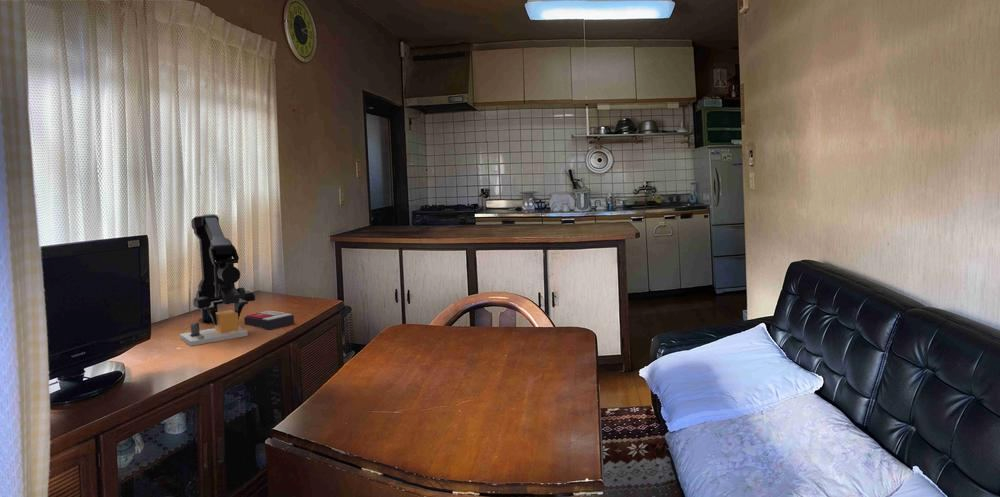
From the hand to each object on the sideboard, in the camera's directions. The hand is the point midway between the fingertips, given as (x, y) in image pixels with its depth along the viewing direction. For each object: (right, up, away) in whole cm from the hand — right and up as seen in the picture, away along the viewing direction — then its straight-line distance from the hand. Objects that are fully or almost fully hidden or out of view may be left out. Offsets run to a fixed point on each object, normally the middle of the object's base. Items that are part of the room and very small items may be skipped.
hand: (226, 323), depth 200 cm
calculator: (+9, -3, +15) cm, 17 cm away
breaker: (-7, -3, -7) cm, 10 cm away
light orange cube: (0, -2, 0) cm, 2 cm away
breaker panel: (-3, -4, -3) cm, 6 cm away
